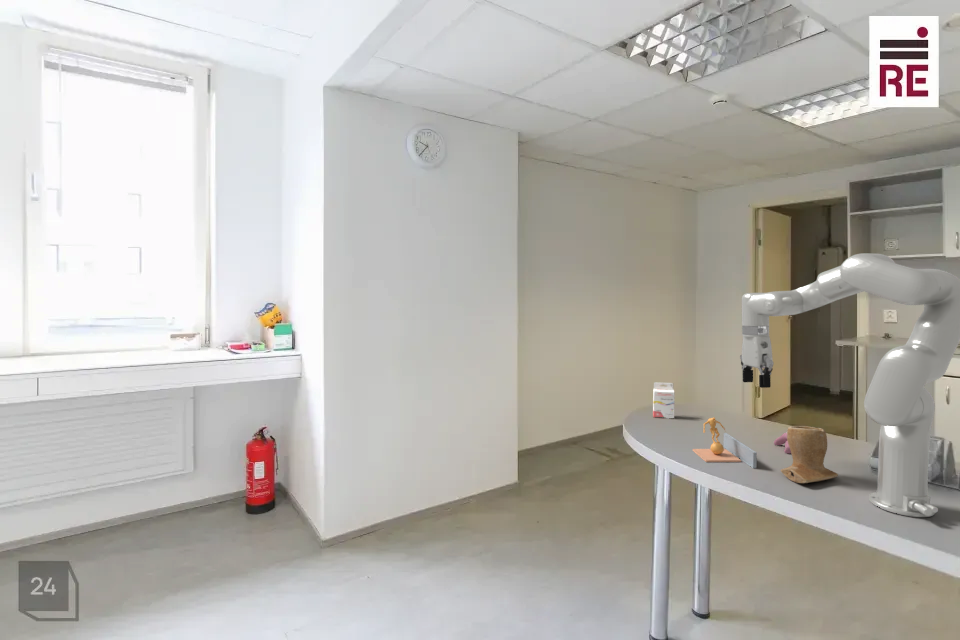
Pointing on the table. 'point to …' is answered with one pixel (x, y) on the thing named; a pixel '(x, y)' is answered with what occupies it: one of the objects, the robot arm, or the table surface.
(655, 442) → the table surface
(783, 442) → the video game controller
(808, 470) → the stone cup
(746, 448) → the low wall
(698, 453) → the board
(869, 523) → the table surface
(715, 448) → the figurine
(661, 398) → the ink cartridge box
